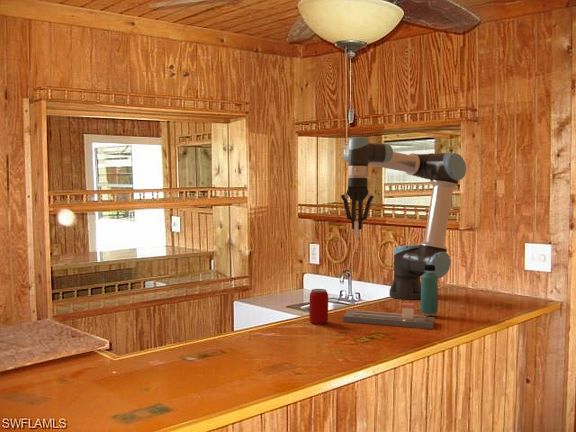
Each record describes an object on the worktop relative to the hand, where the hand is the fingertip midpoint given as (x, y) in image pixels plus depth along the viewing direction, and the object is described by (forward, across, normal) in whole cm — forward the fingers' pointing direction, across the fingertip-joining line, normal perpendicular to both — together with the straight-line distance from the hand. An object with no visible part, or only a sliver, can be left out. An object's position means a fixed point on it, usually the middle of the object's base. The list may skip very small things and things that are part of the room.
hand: (356, 237), depth 239 cm
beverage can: (+30, -9, -22) cm, 38 cm away
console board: (+29, +15, -12) cm, 35 cm away
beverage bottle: (+30, +28, +3) cm, 41 cm away
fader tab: (+27, +22, -12) cm, 37 cm away
